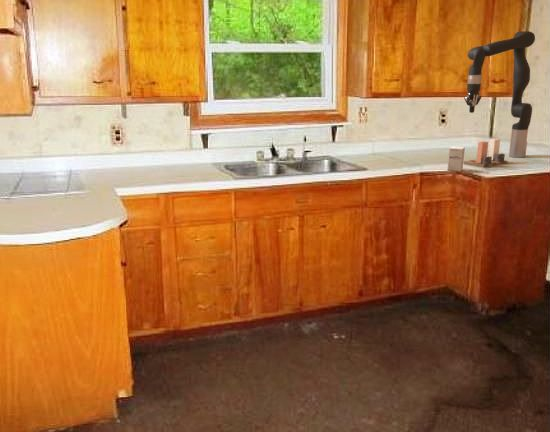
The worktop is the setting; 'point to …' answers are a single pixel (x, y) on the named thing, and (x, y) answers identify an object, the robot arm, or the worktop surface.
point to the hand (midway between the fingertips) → (471, 112)
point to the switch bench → (488, 161)
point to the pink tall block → (481, 151)
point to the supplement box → (456, 158)
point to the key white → (494, 148)
